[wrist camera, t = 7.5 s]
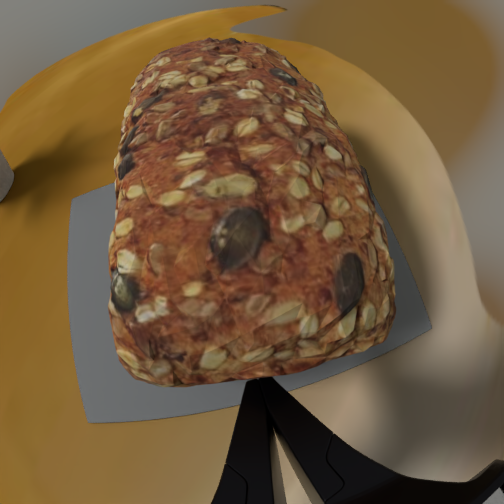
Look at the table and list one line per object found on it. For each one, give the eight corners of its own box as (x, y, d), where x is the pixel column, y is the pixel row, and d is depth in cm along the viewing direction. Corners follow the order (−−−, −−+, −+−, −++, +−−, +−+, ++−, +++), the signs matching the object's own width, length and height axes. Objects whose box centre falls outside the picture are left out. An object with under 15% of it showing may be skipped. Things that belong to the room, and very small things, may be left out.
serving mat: (429, 329, 15) (432, 328, 15) (91, 421, 13) (88, 422, 13) (333, 135, 22) (334, 132, 22) (74, 201, 20) (71, 199, 19)
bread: (163, 144, 21) (131, 46, 12) (284, 126, 22) (293, 24, 13) (174, 381, 14) (69, 394, 5) (352, 349, 15) (464, 321, 6)
